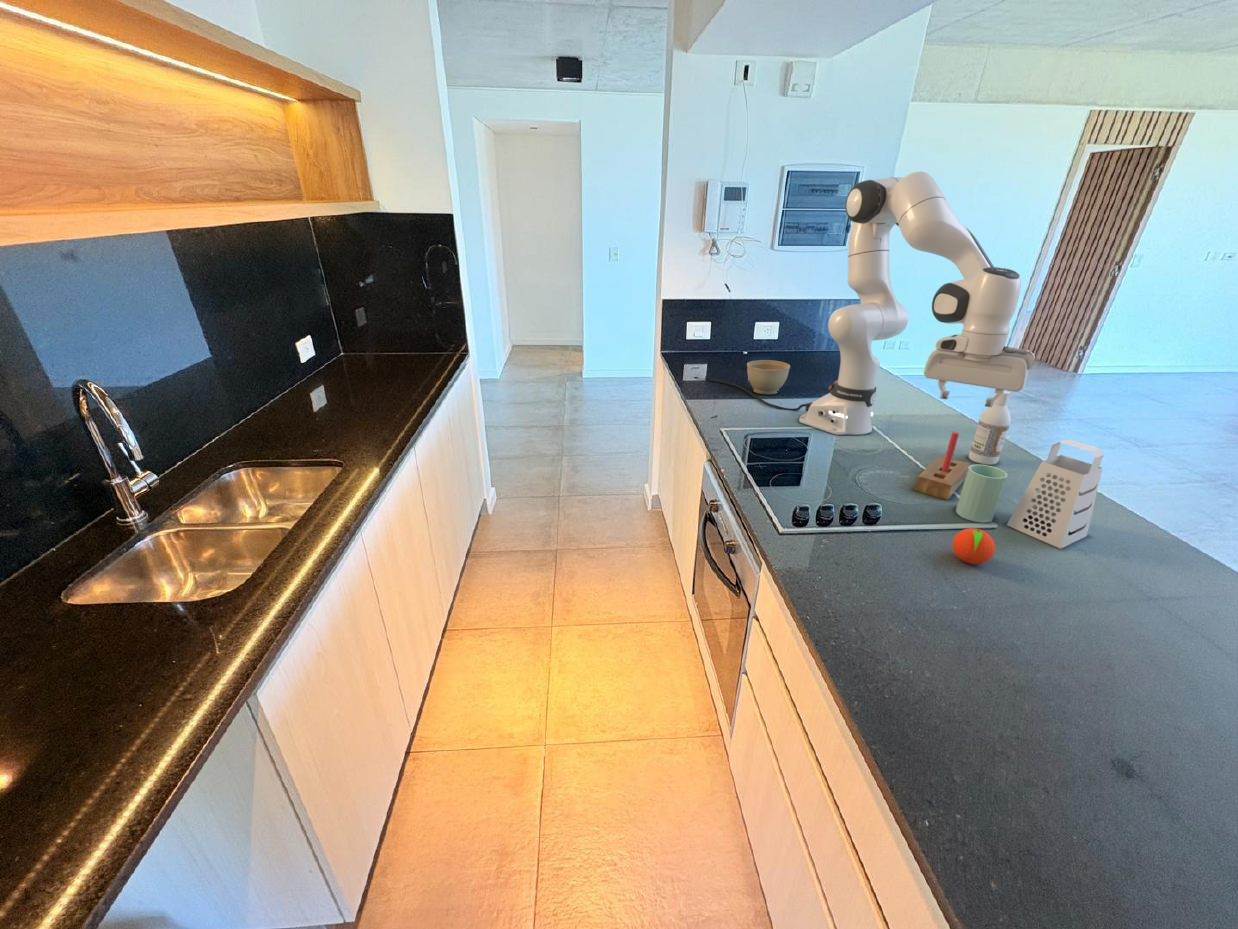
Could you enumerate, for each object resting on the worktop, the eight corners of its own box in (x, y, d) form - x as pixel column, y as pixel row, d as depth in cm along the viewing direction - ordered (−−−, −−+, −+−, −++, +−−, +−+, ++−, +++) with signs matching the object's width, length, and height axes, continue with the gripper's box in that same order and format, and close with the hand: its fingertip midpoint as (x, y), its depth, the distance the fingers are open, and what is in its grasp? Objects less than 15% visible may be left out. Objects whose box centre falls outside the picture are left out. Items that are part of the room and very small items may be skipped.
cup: (951, 514, 121) (964, 471, 116) (960, 503, 125) (973, 461, 121) (988, 526, 116) (1003, 481, 111) (995, 514, 121) (1010, 470, 116)
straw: (937, 483, 135) (951, 432, 129) (938, 482, 136) (953, 431, 130) (943, 485, 134) (958, 434, 128) (945, 483, 135) (960, 432, 129)
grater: (1060, 548, 108) (1097, 459, 100) (1006, 525, 116) (1036, 441, 108) (1086, 535, 112) (1124, 449, 104) (1032, 514, 121) (1063, 432, 112)
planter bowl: (791, 389, 211) (795, 362, 206) (779, 400, 198) (783, 371, 194) (752, 383, 219) (755, 357, 214) (738, 393, 206) (741, 366, 202)
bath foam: (989, 467, 144) (1012, 397, 135) (963, 459, 149) (983, 390, 140) (1001, 461, 147) (1024, 392, 139) (975, 453, 152) (995, 386, 144)
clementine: (989, 578, 99) (1000, 546, 96) (947, 567, 102) (956, 535, 99) (989, 557, 105) (999, 527, 102) (949, 547, 109) (958, 517, 106)
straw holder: (914, 490, 132) (918, 476, 130) (935, 469, 143) (939, 455, 141) (947, 500, 127) (951, 485, 125) (966, 477, 138) (970, 463, 136)
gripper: (1039, 348, 116) (1020, 408, 121) (936, 336, 129) (924, 391, 134) (1035, 352, 111) (1015, 414, 117) (929, 340, 124) (916, 397, 130)
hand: (965, 402), depth 126 cm, fingers open, 8 cm apart
